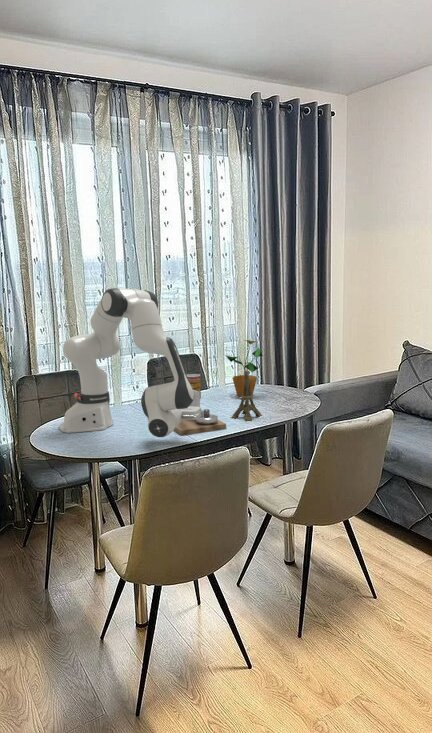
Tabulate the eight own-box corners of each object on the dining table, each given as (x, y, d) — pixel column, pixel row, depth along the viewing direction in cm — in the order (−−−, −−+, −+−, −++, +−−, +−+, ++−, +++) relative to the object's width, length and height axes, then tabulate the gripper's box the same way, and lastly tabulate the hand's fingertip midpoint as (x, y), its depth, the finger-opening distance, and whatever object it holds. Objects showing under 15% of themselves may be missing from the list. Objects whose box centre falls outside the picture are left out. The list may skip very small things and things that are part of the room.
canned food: (190, 401, 282) (190, 377, 279) (182, 398, 288) (181, 375, 286) (203, 398, 286) (203, 375, 284) (194, 396, 292) (194, 373, 290)
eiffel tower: (244, 413, 258) (244, 358, 254) (263, 416, 251) (263, 361, 247) (230, 418, 250) (229, 362, 246) (249, 422, 244) (249, 364, 239)
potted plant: (268, 399, 283) (268, 339, 278) (232, 402, 279) (231, 341, 273) (256, 391, 300) (256, 335, 295) (222, 394, 296) (221, 336, 290)
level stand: (181, 435, 225) (180, 404, 223) (159, 420, 248) (158, 391, 245) (226, 428, 234) (225, 398, 232) (201, 414, 256) (200, 386, 254)
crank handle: (175, 416, 244) (174, 389, 242) (191, 413, 250) (191, 386, 248) (205, 426, 230) (205, 397, 228) (222, 421, 236) (221, 393, 234)
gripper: (197, 409, 209) (204, 400, 222) (143, 407, 212) (154, 398, 226) (197, 425, 210) (205, 415, 223) (144, 423, 214) (154, 413, 227)
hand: (179, 407), depth 225 cm, fingers closed
